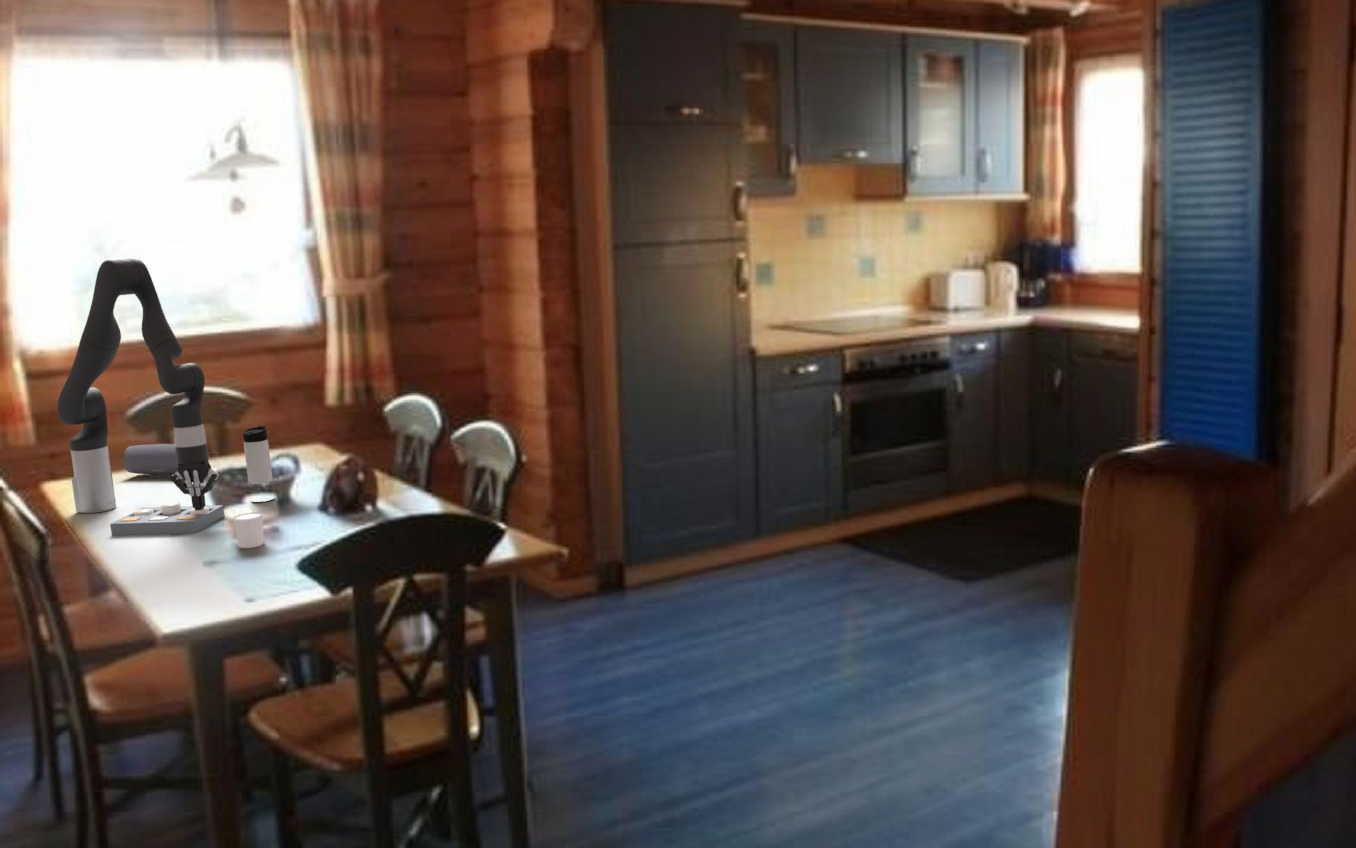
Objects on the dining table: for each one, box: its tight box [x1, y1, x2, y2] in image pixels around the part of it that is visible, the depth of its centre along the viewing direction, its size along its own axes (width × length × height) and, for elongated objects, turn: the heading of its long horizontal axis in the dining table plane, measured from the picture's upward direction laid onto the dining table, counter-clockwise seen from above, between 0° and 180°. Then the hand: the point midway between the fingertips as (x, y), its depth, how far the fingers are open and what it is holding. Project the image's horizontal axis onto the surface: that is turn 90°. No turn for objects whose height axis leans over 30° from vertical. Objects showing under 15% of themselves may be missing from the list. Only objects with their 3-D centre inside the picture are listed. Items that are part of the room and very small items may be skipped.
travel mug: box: [242, 425, 273, 484], centre depth 352 cm, size 6×7×20 cm
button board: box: [109, 504, 225, 536], centre depth 330 cm, size 22×16×3 cm
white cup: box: [232, 512, 264, 549], centre depth 307 cm, size 7×7×7 cm
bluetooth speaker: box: [122, 443, 178, 478], centre depth 393 cm, size 23×9×10 cm, turn 77°
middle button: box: [160, 502, 182, 515], centre depth 332 cm, size 5×5×3 cm
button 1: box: [133, 509, 154, 516], centre depth 333 cm, size 5×5×3 cm
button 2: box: [190, 507, 209, 514], centre depth 331 cm, size 5×5×3 cm
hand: (199, 509), depth 331 cm, fingers closed
